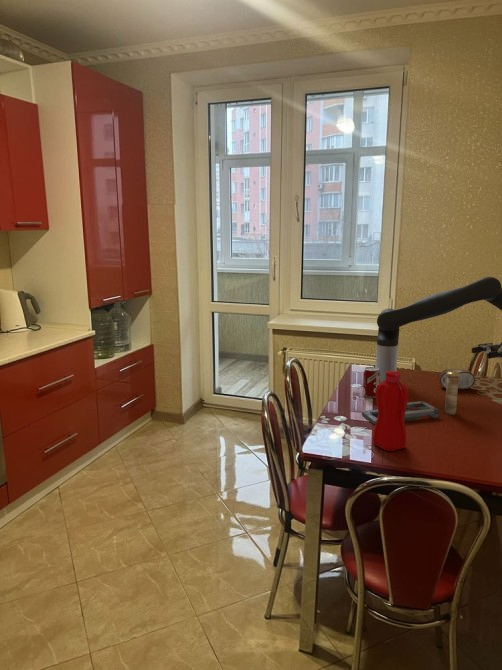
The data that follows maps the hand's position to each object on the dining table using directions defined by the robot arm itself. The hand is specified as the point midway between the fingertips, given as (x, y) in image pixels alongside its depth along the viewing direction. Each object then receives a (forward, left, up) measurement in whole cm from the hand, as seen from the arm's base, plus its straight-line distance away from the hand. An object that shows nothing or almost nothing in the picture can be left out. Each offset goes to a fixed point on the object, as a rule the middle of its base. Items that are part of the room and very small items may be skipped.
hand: (479, 353), depth 179 cm
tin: (-24, +10, -23) cm, 35 cm away
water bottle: (+20, -46, -23) cm, 55 cm away
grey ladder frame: (-2, -30, -23) cm, 38 cm away
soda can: (-25, -30, -23) cm, 46 cm away
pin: (0, -10, -23) cm, 25 cm away
